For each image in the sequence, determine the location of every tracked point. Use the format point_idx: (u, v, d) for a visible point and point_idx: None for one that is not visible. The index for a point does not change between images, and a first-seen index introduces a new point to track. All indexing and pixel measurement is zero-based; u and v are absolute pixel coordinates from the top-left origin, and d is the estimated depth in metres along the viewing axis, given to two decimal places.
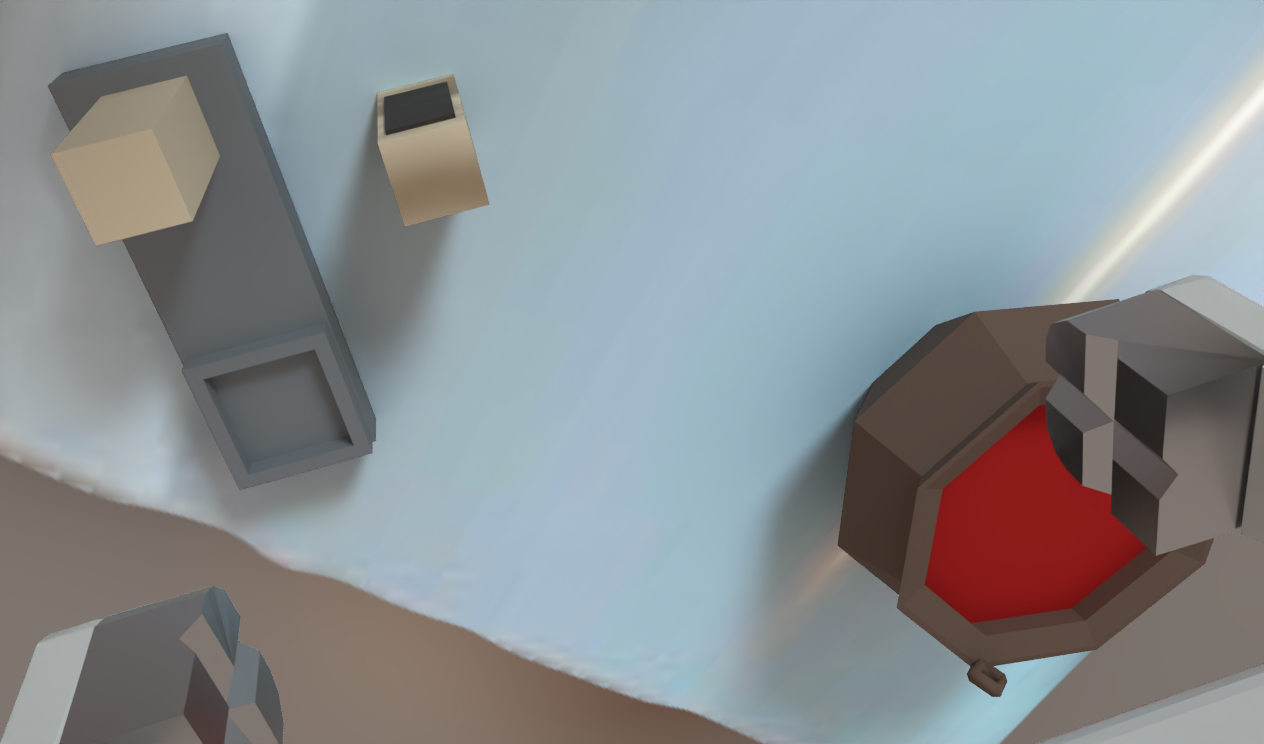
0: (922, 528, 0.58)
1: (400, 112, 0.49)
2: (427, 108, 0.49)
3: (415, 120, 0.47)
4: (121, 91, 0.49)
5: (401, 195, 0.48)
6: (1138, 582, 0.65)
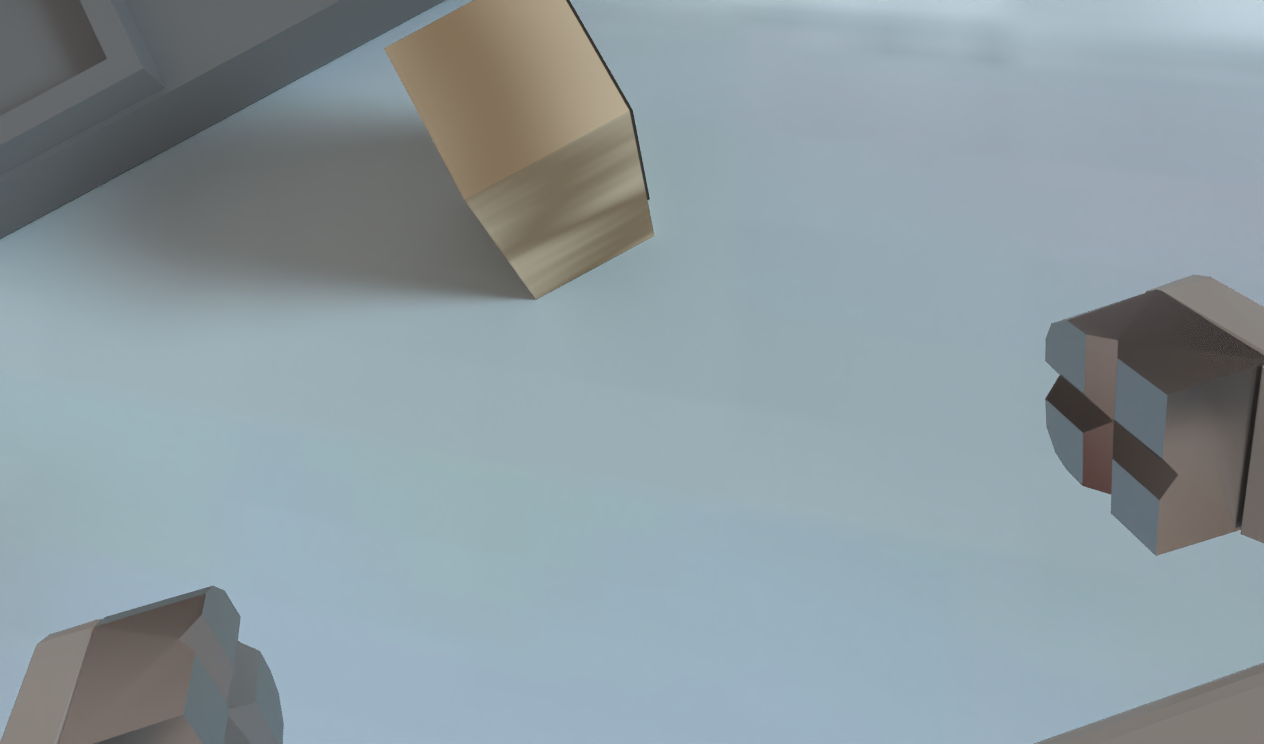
0: None
1: None
2: None
3: None
4: None
5: (448, 27, 0.23)
6: None
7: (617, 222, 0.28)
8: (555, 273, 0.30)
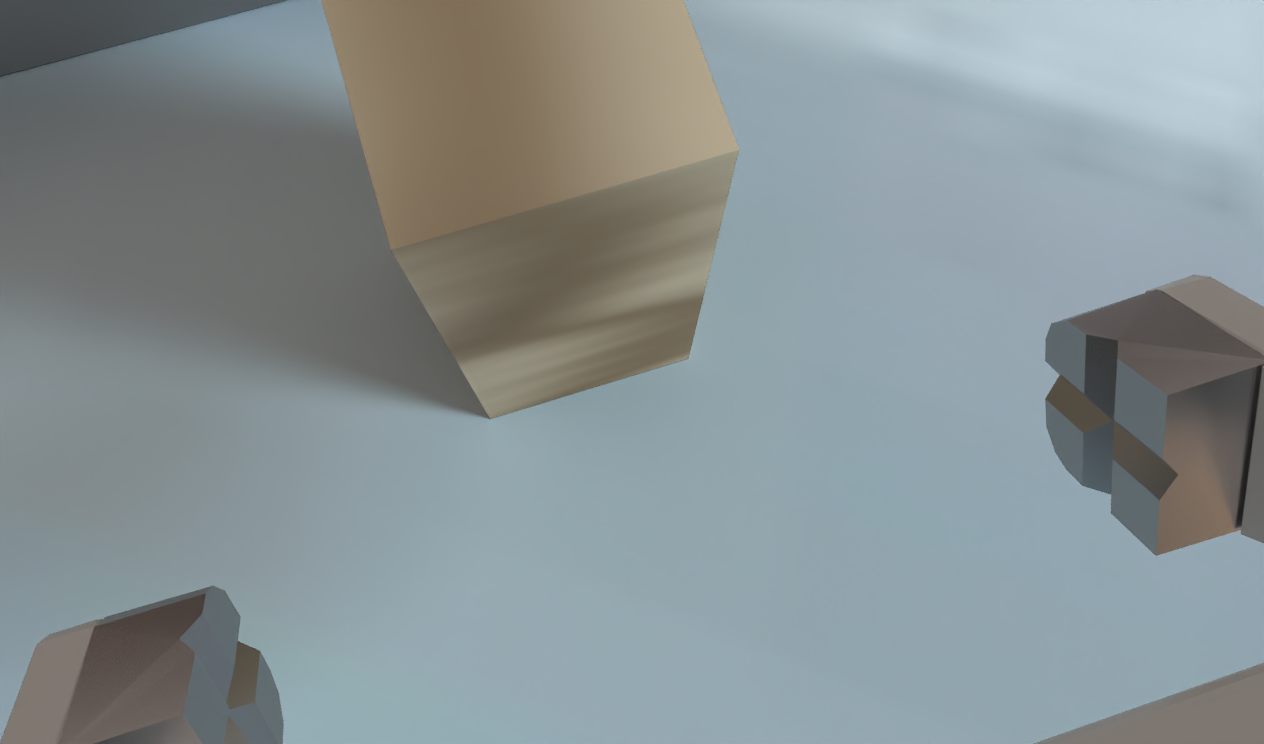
0: None
1: None
2: None
3: None
4: None
5: None
6: None
7: (644, 332, 0.18)
8: (529, 388, 0.19)
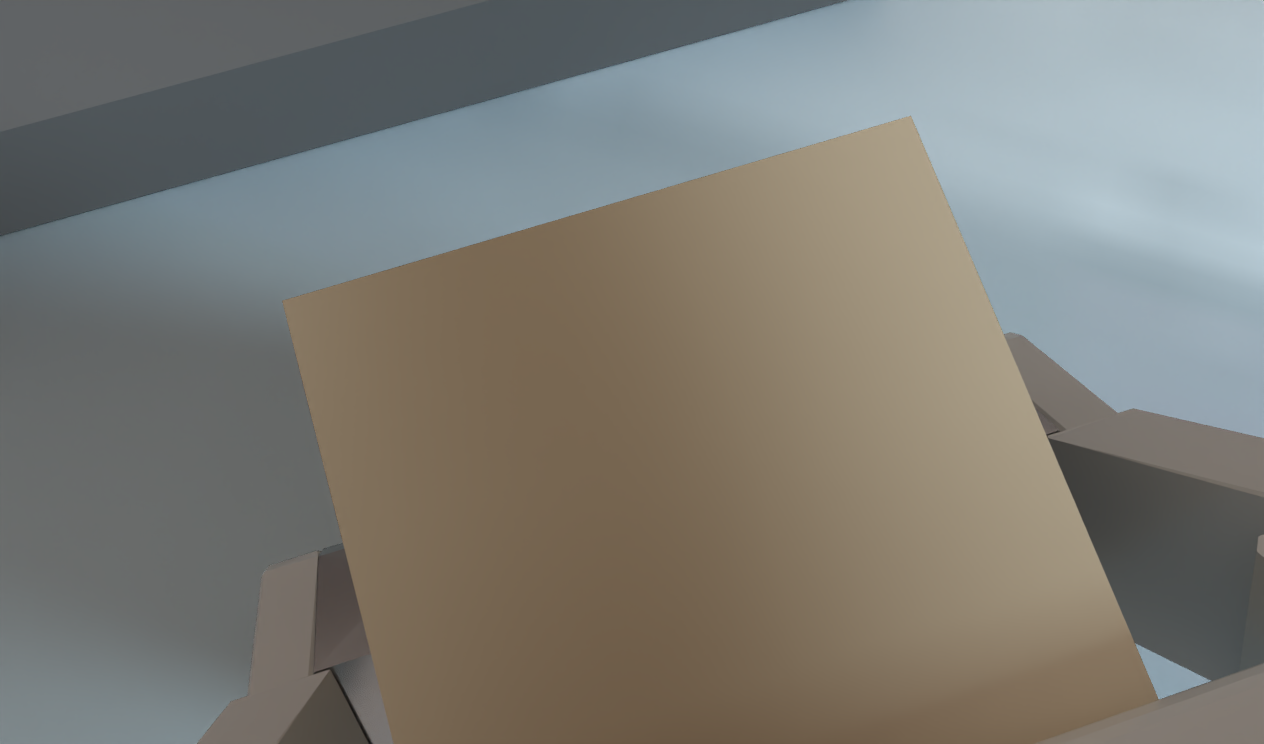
0: None
1: None
2: None
3: None
4: None
5: (536, 274, 0.06)
6: None
7: None
8: None
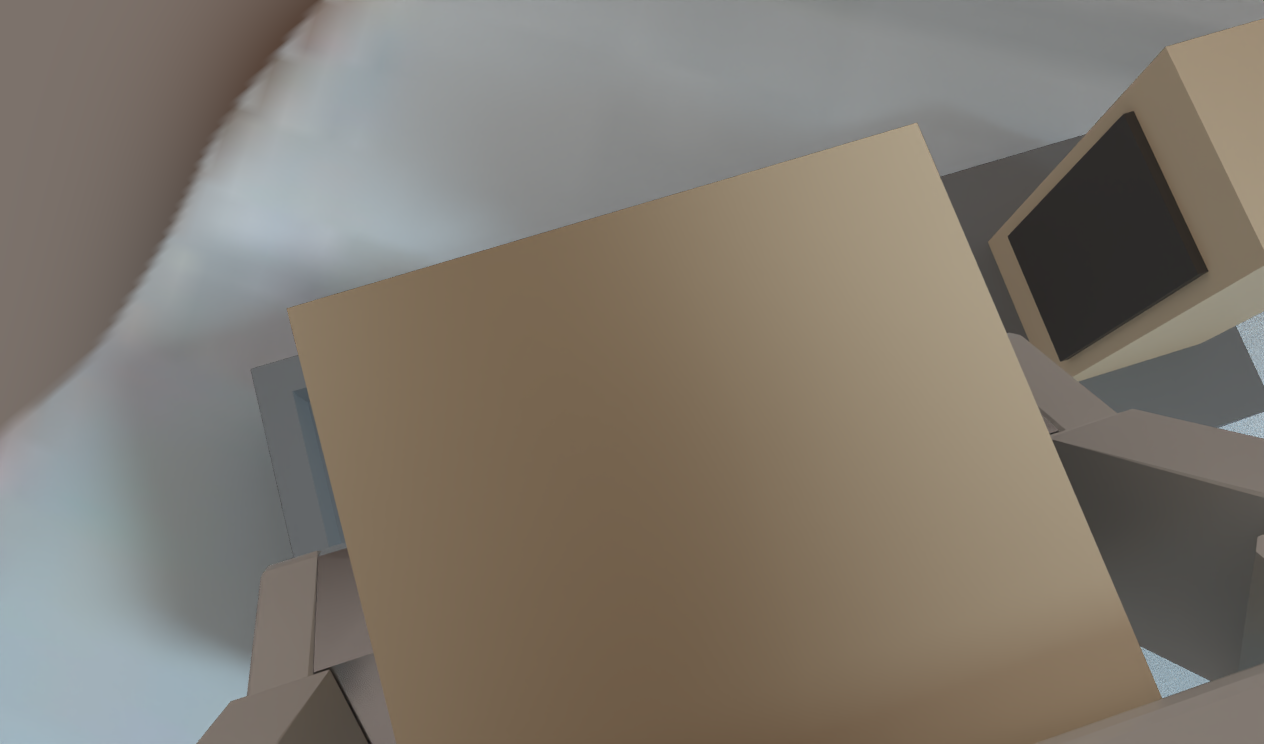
0: None
1: None
2: None
3: None
4: None
5: (541, 281, 0.06)
6: None
7: None
8: None
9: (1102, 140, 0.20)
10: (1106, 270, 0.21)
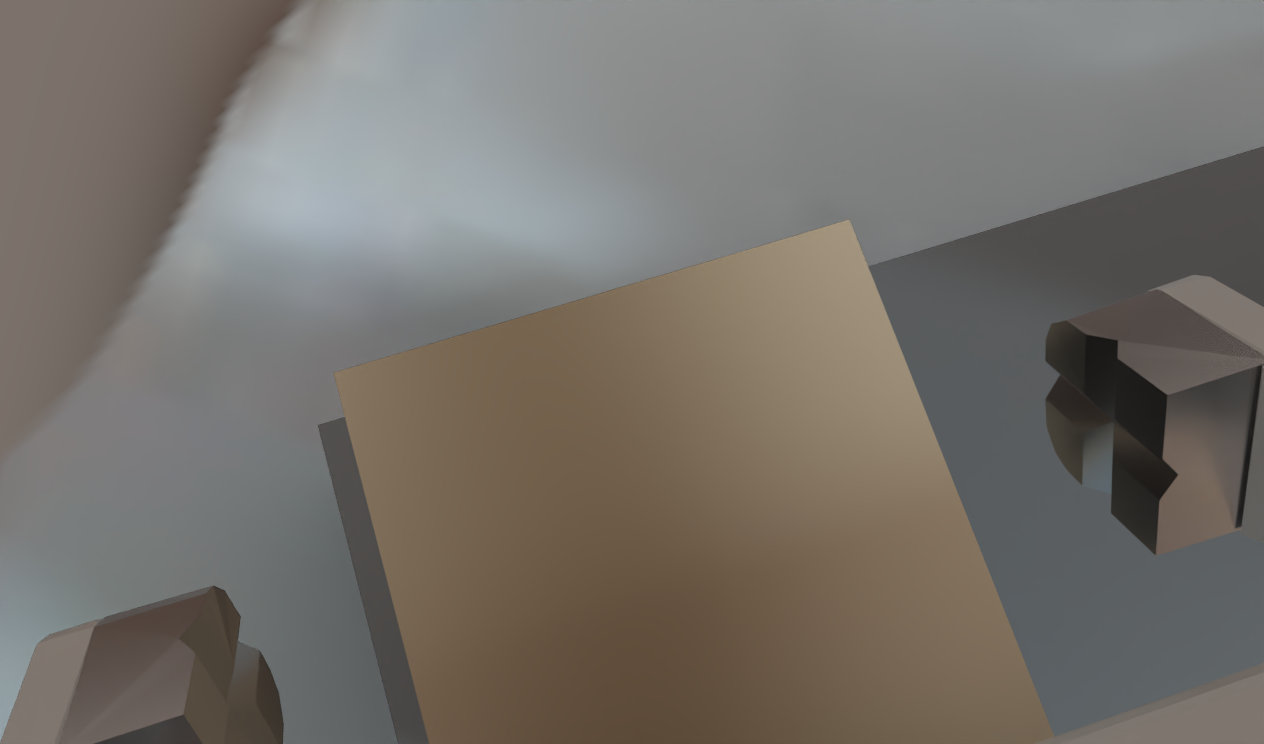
0: None
1: None
2: None
3: None
4: None
5: (541, 351, 0.08)
6: None
7: None
8: None
9: None
10: None
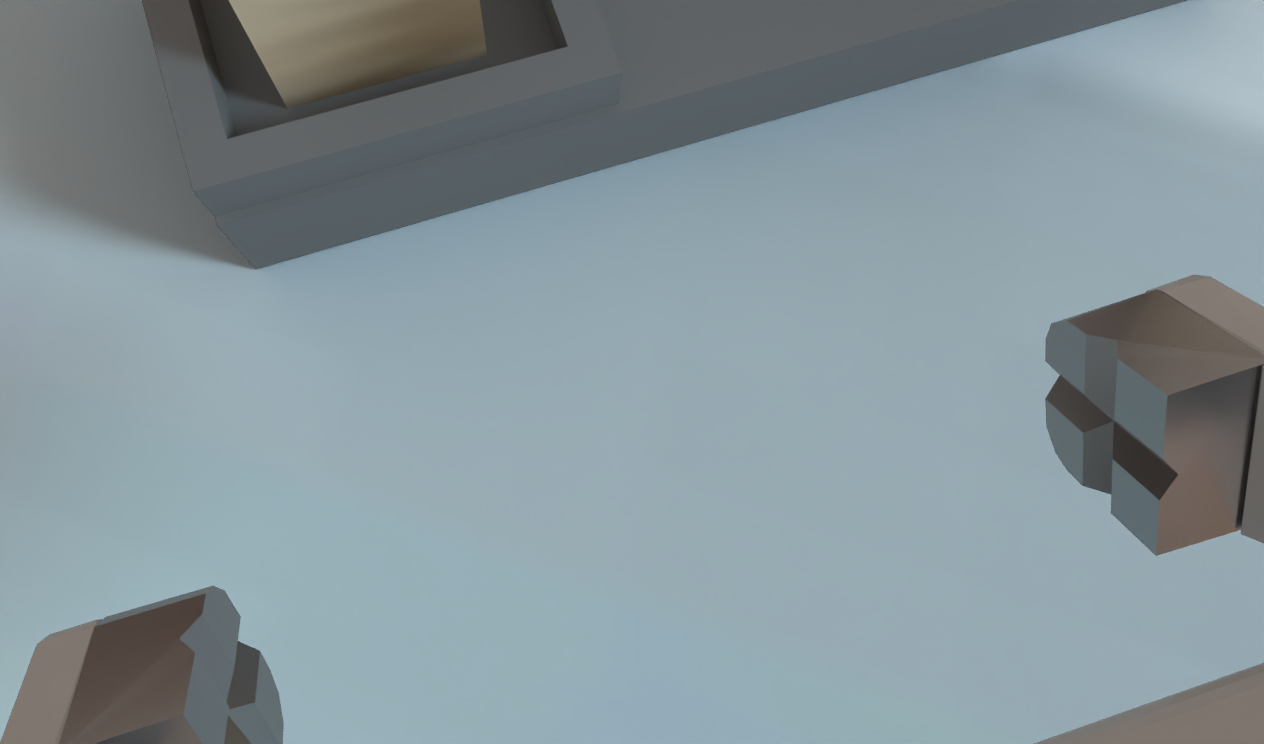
0: None
1: None
2: None
3: None
4: None
5: None
6: None
7: None
8: (316, 59, 0.19)
9: None
10: None
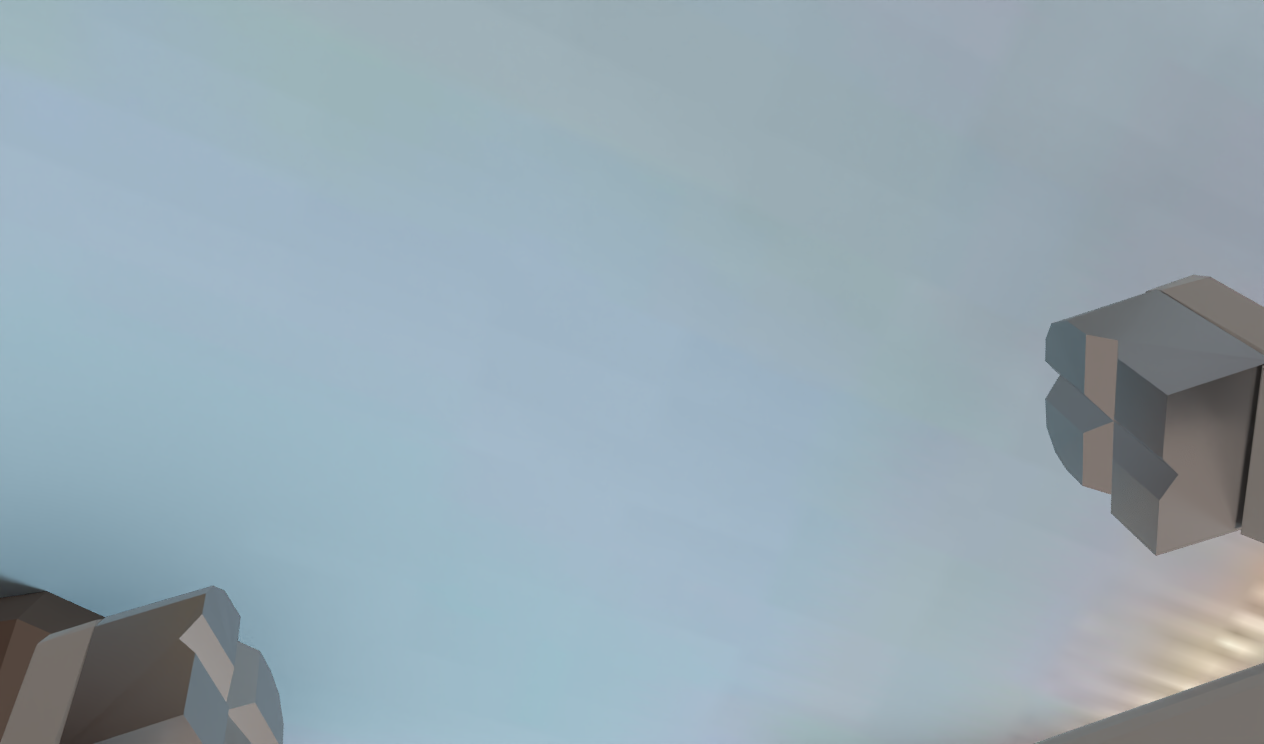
0: None
1: None
2: None
3: None
4: None
5: None
6: None
7: None
8: None
9: None
10: None
